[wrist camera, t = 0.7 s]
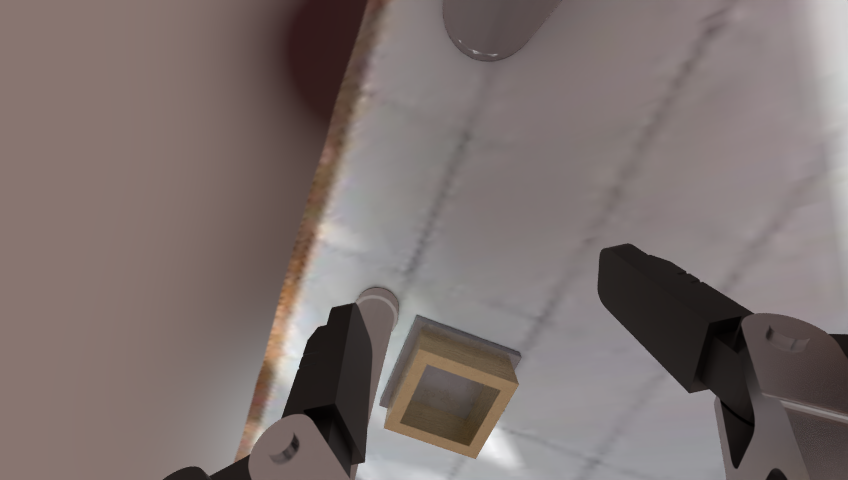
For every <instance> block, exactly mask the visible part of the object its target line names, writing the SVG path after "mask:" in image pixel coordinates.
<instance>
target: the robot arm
mask: <svg viewBox="0 0 848 480" xmlns="http://www.w3.org/2000/svg"><path fill="white" fill-rule="evenodd" d="M561 1H562V0H443V18H444V23H445V27H446V29H447V32H448V34H449V36H450V38H451V40H452V41H453V42H454V44H455V45H456V46H457V47H458V48H459V49H460V50H461V51H462V52H463V53H465V54H466V55H468V56H470V57H471V58H474V59H478V60H481V61H495V60H500V59H503V58H506V57H508V56H510V55H512V54H514V53H515V52H516V51H518V50H519V49H520V48H521V47H522V46H523V45H524V44H525V43H526V42H527V41H528V40H529V39H530V38H531V36H532V35H533V34H534V33H535V32H536V31H537V29H538V28H539V27H540V26H541V25H542V24H543V22H544V21H545V20H546V19H547V18H548V17H549V15H550V14H551V13H552V12H553V11H554V9H555V8H556V7H557V6H558V5H559V3H560V2H561ZM598 294H599V298H600V300H601V302H602V304H603V305H604V306H605V307H606V309H607V310H608V311H609V312H610V313H611V314H612V315H613V316H614V317H615V318H616V319H617V320H618V321H619V322H620V323H621V324H622V325H623V326H624V327H625V328H626V329H627V330H628V331H629V332H630V333H631V334H632V335H633V336H634V337H635V338H636V339H637V340H638V341H639V342H640V343H641V344H642V345H643V346H644V347H645V348H646V350H647V351H648V352H649V353H650V354H651V355H652V356H653V357H654V358H655V359H656V360H657V361H658V362H659V363H660V364H661V365H662V366H663V367H664V368H665V369H666V370H667V371H668V372H669V373H670V374H671V375H672V376H673V377H674V378H675V379H676V380H677V381H678V382H679V383H680V384H681V385H682V386H683V387H684V388H685V389H686V390H687V391H688V393H693V392H698V391H703V390H707V389H710V390H711V391H712V392H713V393H714V394H715V395H716V398H715V401H714V408H715V414H716V420H717V426H718V431H719V437H720V443H721V449H722V455H723V461H724V467H725V473H726V480H848V335H847V334H827V333H826V332H825V331H823V330H821V329H820V328H818V327H816V326H814V325H812V324H810V323H807V322H805V321H802V320H799V319H796V318H793V317H789V316H784V315H779V314H771V313H758V314H754V313H752V312H751V311H749V310H748V309H746V308H744V307H743V306H741V305H739V304H738V303H736V302H735V301H733V300H731V299H730V298H728V297H727V296H725V295H723V294H722V293H720V292H718V291H717V290H715V289H714V288H712V287H710V286H709V285H707V284H706V283H704V282H700V280H699V279H698V278H696V277H694V276H693V275H691V274H687V273H686V271H685V270H683V269H681V268H680V267H678V266H677V265H675V264H673V263H672V262H670V261H667V260H664V259H661V258H658V257H655V256H653V255H647V254H646V253H644V252H643V251H641V250H640V249H638V248H637V247H635V246H633V245H632V244H628V243H627V244H622V245H618V246H613V247H609V248H604V249H602V250H601V252H600V258H599V273H598ZM372 358H373V353H372V344H371V340H370V336H369V334H368V331H367V328H366V326H365V323H364V320H363V318H362V315H361V312H360V309H359V307H358V305H357V304H356V303H351V304H346V305H342V306H337V307H333V308H332V309H331V311H330V315H329V318H328V322H327V325H325V326H320V327H318V328H317V329H316V330H315V332H314V333H313V334H312V335H311V337H310V338H309V339H308V341H307V344H306V347H305V350H304V353H303V357H302V359H301V362H300V365H299V369H298V370H297V373H296V376H295V379H294V382H293V385H292V388H291V391H290V394H289V397H288V400H287V403H286V406H285V409H284V412H283V415H282V418H281V419H280V420H278V421H277V422H275V423H274V424H273V425H271V426H270V427H269V428H268V429H267V430H266V431H265V432H264V433H263V434H262V435H261V436H260V438H259V439H258V440H257V442H256V444H255V445H254V447H253V449H252V451H251V454H250V455H248V456H246V457H245V458H243V459H241V460H239V461H237V462H235V463H233V464H232V465H230V466H228V467H226V468H224V469H222V470H220V471H218V472H216V473H215V474H213V475H211V476H208V475H207V474H206V473H205V472H204V471H203V470H202V469H201V468H199V467H186V468H183V469H180V470H178V471H176V472H174V473H172V474H170V475H169V476H167V477H166V478H164V479H163V480H350V472H351V465H354V464H359V463H364V462H365V453H366V440H367V426H368V412H369V399H370V385H371V372H372Z"/></svg>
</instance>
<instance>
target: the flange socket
mask: <svg viewBox="0 0 848 480" xmlns="http://www.w3.org/2000/svg"><path fill="white" fill-rule="evenodd" d="M521 358H522V357H521V355H520V353H519V352H517V351H514V350H511V349H509V348H506V347H503V346H500V345H498V344H495V343H492V342H489V341H487V340H484V339H481V338H478V337H476V336H473V335H470V334H467V333H465V332H462V331H459V330H456V329H454V328H451V327H448V326H445V325H443V324H440V323H437V322H434V321H432V320H429V319H426V318H424V317H421V316H418V315H417V316H416V318H415V320H414V323H413V325H412V327H411V330H410V332H409V334H408V337H407V339H406V341H405V344H404V346H403V348H402V351H401V353H400V355H399V358H398V360H397V362H396V365H395V367H394V369H393V372H392V374H391V376H390V379H389V381H388V383H387V386H386V388H385V390H384V393H383V395H382V397H381V400H380V404H379V405H380V406H383V407H385V408H388V409H387V414H386V419H385V424H384V428H385V429H388V430H391V431H394V432H397V433H400V434H403V435H406V436H409V437H412V438H415V439H418V440H421V441H423V442H426V443H429V444H432V445H435V446H438V447H441V448H444V449H447V450H450V451H453V452H456V453H459V454H462V455H465V456H468V457H471V458H474V459H476V457H477V456H478V454H479V452H480V450H481V449H482V447H483V445H484V444H485V442H486V440H487V438H488V437H489V435H490V433H491V432H492V430H493V428H494V426H495V425H496V423H497V421H498V420H499V418H500V416H501V414H502V413H503V411H504V409H505V408H506V406H507V404H508V402H509V401H510V399H511V397H512V396H513V394H514V392H515V390H516V389H517V387H518V385H519V383H518V381H517V378H516V375H515V372H514V370H515V368H516V367H517V365H518V363H519V361H520V360H521Z"/></svg>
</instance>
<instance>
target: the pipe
mask: <svg viewBox="0 0 848 480" xmlns="http://www.w3.org/2000/svg"><path fill="white" fill-rule="evenodd" d="M355 303H356V304H357V305H358V307H359V309H360V312H361V315H362V318H363V320H364V323H365V326H366V328H367V331H368V334H369V336H370V340H371V344H372V353H373V358H372V372H371V385H370V399H369V412H368V423H369V419H370V415H371V411H372V407H373V403H374V399H375V395H376V391H377V387H378V383H379V379H380V375H381V371H382V367H383V363H384V359H385V355H386V351H387V347H388V343H389V339H390V335H391V332H392V331H393V329H394V328H395V326H396V325H397V321H398V310H399V305H398V302H397V299H396V298H395V297H394V296H393V294H392V293H391V292H389V291H387V290H385V289H382V288H372V289H368V290H366V291H365V292H363V293H362V294H361V295H360V297H359V298H358V299H357V300H356V302H355ZM367 427H368V426H367ZM357 467H358V464H354V465H351V472H350V480H355V476H356V471H357Z"/></svg>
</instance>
